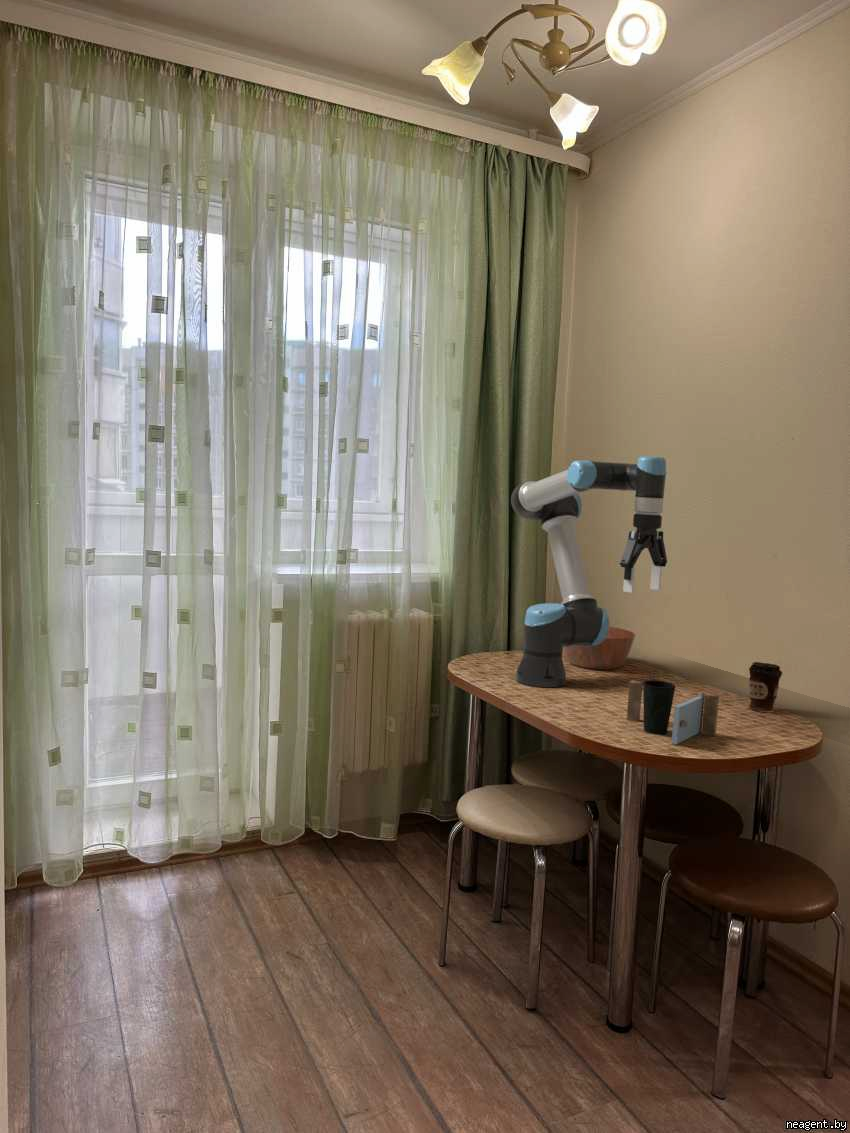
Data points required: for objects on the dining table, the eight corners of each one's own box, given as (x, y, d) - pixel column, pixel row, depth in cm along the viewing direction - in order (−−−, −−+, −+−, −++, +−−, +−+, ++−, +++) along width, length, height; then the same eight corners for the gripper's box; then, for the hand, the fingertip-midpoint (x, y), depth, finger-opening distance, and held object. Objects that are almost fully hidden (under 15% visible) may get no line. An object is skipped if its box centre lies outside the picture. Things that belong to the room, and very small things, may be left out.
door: (696, 731, 215) (700, 692, 214) (706, 733, 214) (709, 694, 213) (671, 744, 203) (674, 702, 202) (681, 746, 202) (684, 705, 201)
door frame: (626, 719, 222) (629, 681, 221) (629, 717, 224) (632, 680, 223) (713, 736, 211) (717, 696, 210) (715, 734, 213) (719, 695, 212)
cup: (635, 726, 217) (639, 679, 215) (664, 727, 217) (668, 680, 216) (645, 735, 209) (649, 687, 208) (675, 736, 210) (680, 688, 208)
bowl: (543, 664, 285) (546, 630, 284) (575, 653, 305) (578, 621, 304) (614, 677, 271) (617, 641, 270) (643, 665, 291) (646, 632, 290)
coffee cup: (762, 715, 234) (766, 668, 233) (738, 707, 241) (742, 661, 240) (784, 712, 238) (788, 666, 237) (760, 704, 245) (764, 660, 244)
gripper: (659, 512, 246) (653, 586, 248) (610, 512, 228) (604, 591, 230) (683, 514, 240) (677, 589, 242) (634, 514, 223) (628, 595, 225)
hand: (641, 590), depth 236 cm, fingers open, 13 cm apart
